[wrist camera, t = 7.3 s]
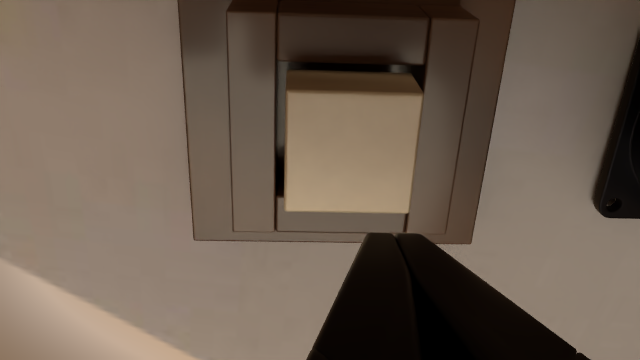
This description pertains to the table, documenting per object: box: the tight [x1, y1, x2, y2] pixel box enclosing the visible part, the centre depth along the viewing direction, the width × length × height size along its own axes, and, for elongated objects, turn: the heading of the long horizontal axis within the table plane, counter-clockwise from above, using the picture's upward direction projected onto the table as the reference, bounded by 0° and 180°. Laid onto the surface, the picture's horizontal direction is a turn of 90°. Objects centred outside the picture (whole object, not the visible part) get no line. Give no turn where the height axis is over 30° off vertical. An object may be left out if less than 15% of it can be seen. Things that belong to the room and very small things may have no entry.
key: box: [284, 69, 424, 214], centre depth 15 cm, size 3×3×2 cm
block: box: [178, 0, 516, 244], centre depth 17 cm, size 9×9×3 cm
